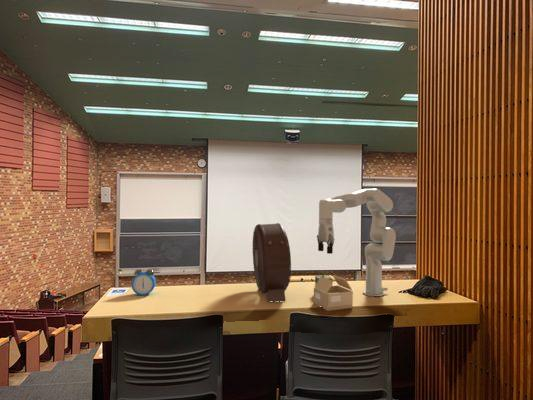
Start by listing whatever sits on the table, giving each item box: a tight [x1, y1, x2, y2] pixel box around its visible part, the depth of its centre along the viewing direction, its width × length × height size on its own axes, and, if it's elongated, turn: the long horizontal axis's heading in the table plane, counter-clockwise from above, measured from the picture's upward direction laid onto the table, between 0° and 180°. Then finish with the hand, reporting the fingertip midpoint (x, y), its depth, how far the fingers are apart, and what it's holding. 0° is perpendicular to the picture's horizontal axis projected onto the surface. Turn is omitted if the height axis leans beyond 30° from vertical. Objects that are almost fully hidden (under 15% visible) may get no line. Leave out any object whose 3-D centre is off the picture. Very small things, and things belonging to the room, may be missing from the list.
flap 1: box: [314, 275, 335, 292], centre depth 190 cm, size 7×13×1 cm
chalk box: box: [314, 270, 333, 286], centre depth 212 cm, size 9×9×15 cm
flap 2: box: [332, 274, 353, 291], centre depth 195 cm, size 7×13×1 cm
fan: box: [252, 222, 292, 303], centre depth 213 cm, size 41×18×44 cm, turn 11°
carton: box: [313, 284, 354, 312], centre depth 192 cm, size 16×15×9 cm
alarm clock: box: [130, 268, 157, 296], centre depth 208 cm, size 13×6×15 cm, turn 98°
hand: (325, 252), depth 195 cm, fingers open, 9 cm apart
